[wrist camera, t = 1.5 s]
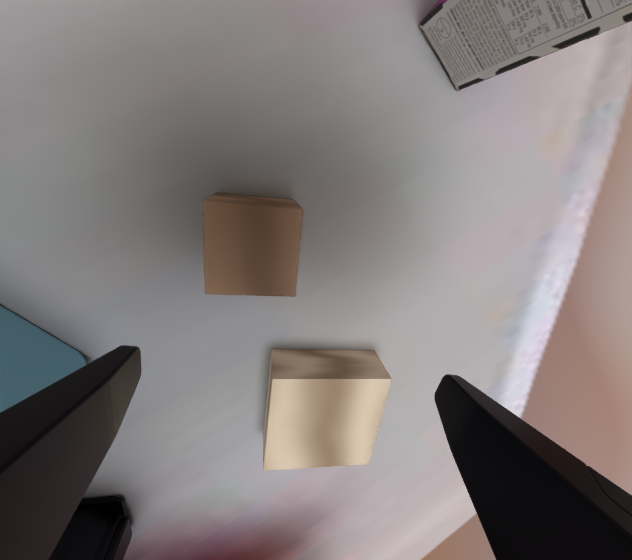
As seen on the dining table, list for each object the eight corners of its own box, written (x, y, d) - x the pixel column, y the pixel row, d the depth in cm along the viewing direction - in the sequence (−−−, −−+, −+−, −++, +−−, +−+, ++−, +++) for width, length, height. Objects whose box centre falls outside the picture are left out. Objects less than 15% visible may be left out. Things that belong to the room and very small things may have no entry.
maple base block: (263, 429, 27) (263, 470, 23) (271, 346, 24) (272, 379, 20) (355, 426, 29) (368, 463, 25) (373, 348, 26) (391, 378, 22)
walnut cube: (217, 265, 21) (204, 293, 16) (217, 192, 19) (202, 200, 14) (288, 269, 22) (295, 296, 17) (293, 199, 20) (303, 209, 15)
